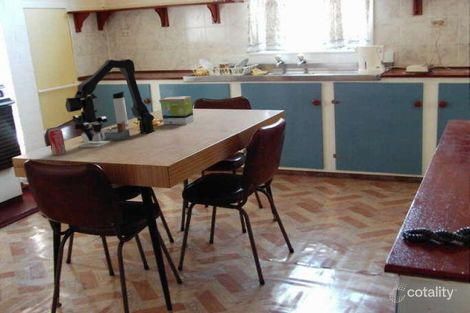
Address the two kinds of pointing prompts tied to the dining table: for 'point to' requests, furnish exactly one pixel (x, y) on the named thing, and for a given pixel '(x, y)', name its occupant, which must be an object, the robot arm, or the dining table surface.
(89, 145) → the rubber mat
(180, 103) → the tea box
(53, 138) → the beverage can
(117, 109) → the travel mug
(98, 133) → the lever cap
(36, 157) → the dining table surface
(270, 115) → the dining table surface
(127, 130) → the hand plane
